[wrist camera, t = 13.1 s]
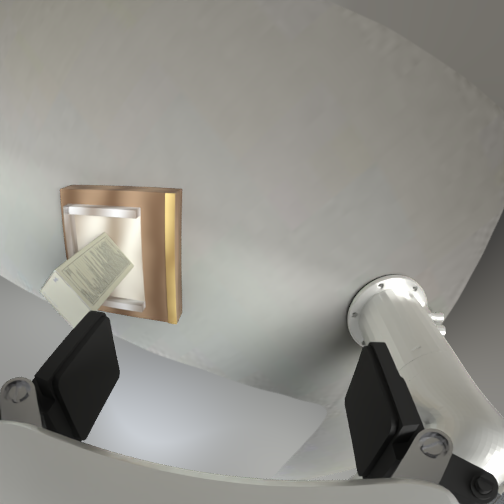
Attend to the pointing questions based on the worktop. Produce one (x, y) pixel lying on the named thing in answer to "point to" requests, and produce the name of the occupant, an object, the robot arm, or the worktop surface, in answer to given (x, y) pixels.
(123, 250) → the dock
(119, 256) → the skincare box
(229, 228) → the worktop surface
